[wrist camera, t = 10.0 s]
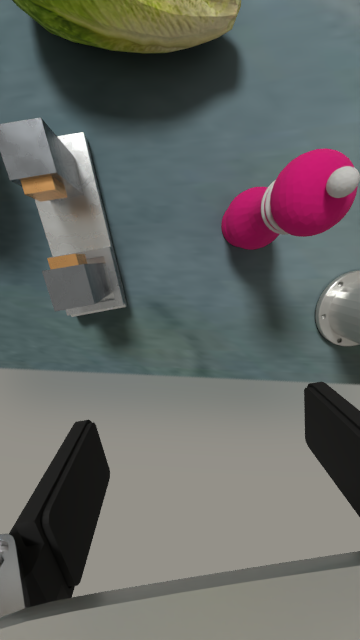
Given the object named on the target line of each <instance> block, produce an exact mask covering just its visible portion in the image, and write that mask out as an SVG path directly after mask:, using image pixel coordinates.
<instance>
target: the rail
mask: <svg viewBox="0 0 360 640" xmlns="http://www.w3.org/2000/svg"><path fill="white" fill-rule="evenodd" d="M0 152H1V155H2V158H3V161H4V164H5V167H6V170H7V173H8V176H9V179H10V181H12V182H14V183H16V184H18V185H20V186H22V187H23V190H24V193H25V195H27V196H29V197H32V198H34V199H35V202H36V205H37V208H38V211H39V214H40V217H41V221H42V224H43V227H44V230H45V233H46V237H47V240H48V243H49V246H50V249H51V252H52V256H53V257H58V256H64V255H70V254H85V256H86V260H87V264H91V263H103V265H104V270H105V274H106V278H107V282H108V286H109V290H110V294H109V295H108V296H106V297H105V298H103V299H102V300H101V301H99V302H98V303H96V304H94V305H88V306H83V307H77V308H71V309H66V313H67V316H68V315H71V316H72V317H74V316H79V315H85V314H90V313H95V312H101V311H106V310H112V309H117V308H122V307H126V306H127V302H126V298H125V293H124V289H123V285H122V281H121V277H120V273H119V269H118V264H117V260H116V256H115V252H114V248H113V244H112V240H111V235H110V231H109V227H108V223H107V219H106V215H105V211H104V206H103V202H102V198H101V194H100V190H99V186H98V182H97V178H96V173H95V169H94V165H93V161H92V157H91V153H90V149H89V144H88V140H87V138H86V136H85V134H84V133H83V132H82V133H76V134H70V135H63V136H56V135H55V134H54V132H53V131H52V130H51V129H50V128H49V127H48V125H47V124H46V123H45V122H44V121H43V120H42V118H35V119H29V120H23V121H16V122H10V123H4V124H0ZM49 258H52V257H49Z"/></svg>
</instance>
